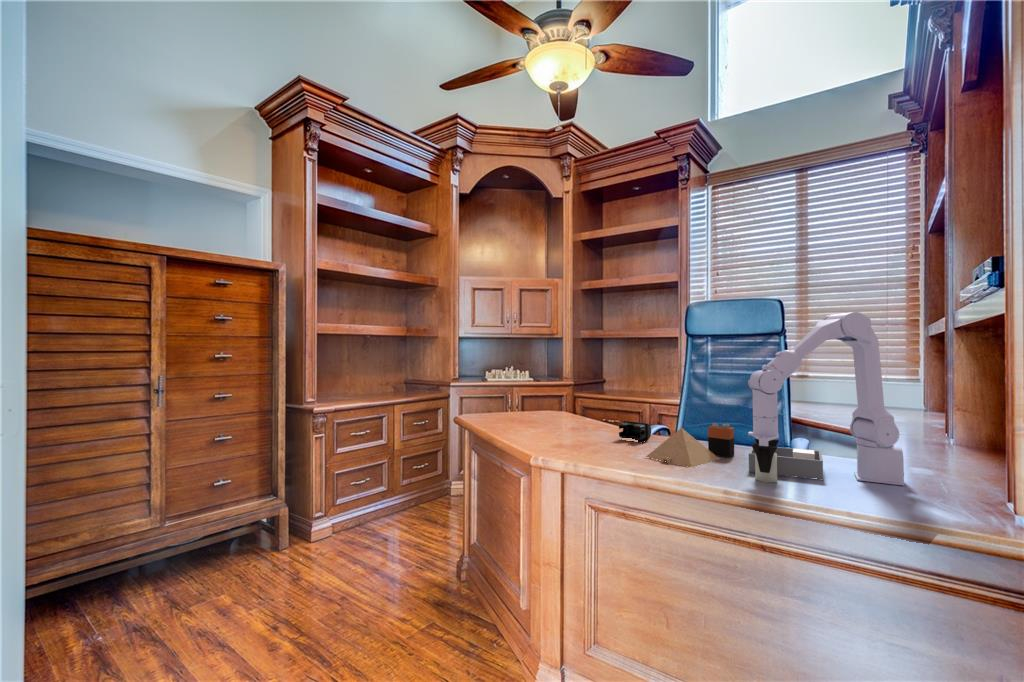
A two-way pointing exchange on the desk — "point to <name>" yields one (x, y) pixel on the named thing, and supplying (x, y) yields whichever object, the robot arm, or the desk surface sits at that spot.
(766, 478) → the cylinder
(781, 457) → the tote
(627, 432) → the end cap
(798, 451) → the cube
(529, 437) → the desk surface
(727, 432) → the battery
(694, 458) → the model pyramid
